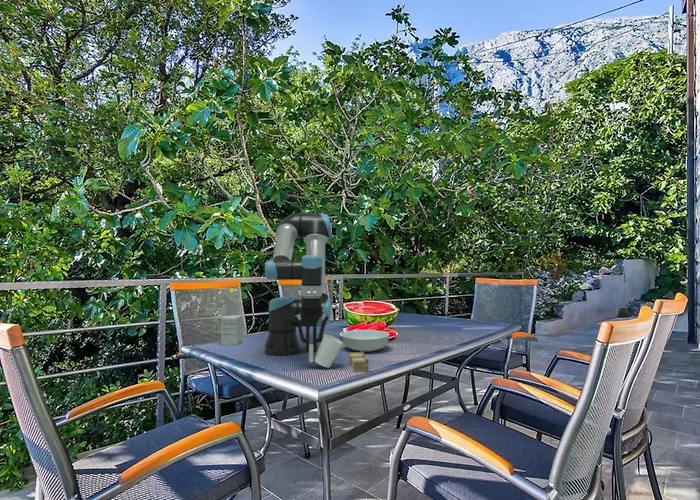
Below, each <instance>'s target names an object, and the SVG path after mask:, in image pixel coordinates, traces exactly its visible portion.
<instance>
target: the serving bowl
mask: <svg viewBox="0 0 700 500" xmlns="http://www.w3.org/2000/svg"><path fill="white" fill-rule="evenodd" d="M341 339H342V343H343V344H344V345H345V346H346V347H347V348H348V349H351V350H354V351H357V352H361V351H363V353H368V352H375V351H378V350H381V349H383V348H385V346H386V345H388V342H389V339H390V333H388V332H387V331H383V330H378V329H377V330H376V329H354V330H349V331H345V332H342V333H341Z"/></svg>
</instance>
